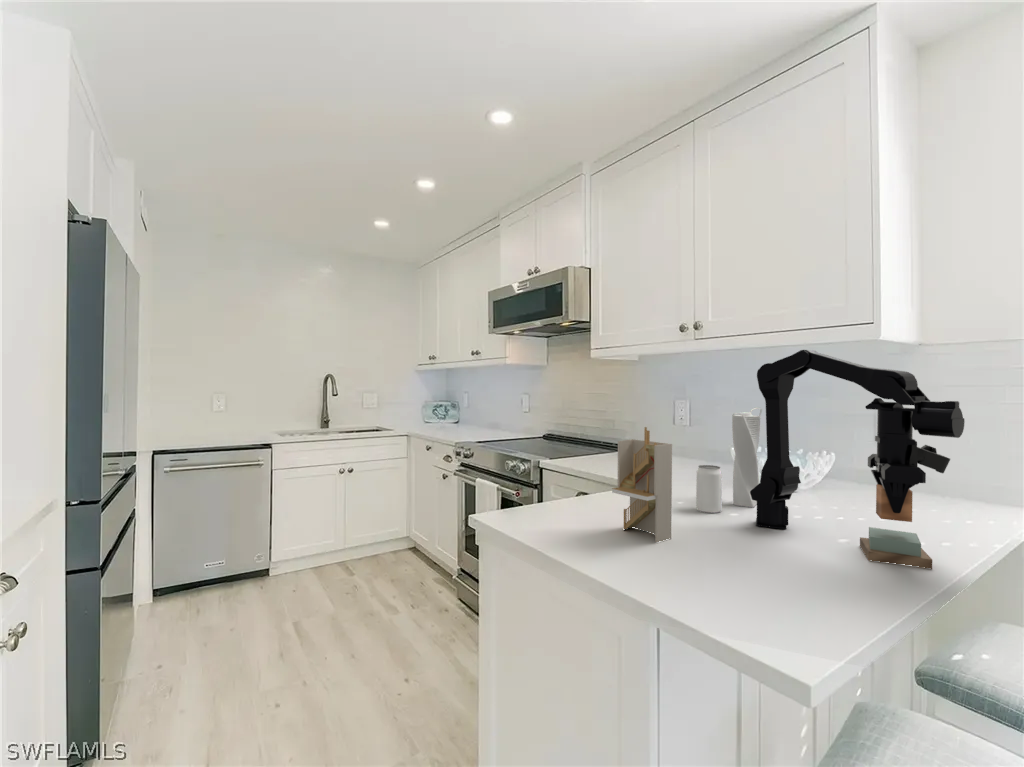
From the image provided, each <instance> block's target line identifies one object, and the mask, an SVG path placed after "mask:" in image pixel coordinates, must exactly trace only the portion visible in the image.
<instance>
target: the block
mask: <svg viewBox="0 0 1024 767" xmlns="http://www.w3.org/2000/svg"><path fill="white" fill-rule="evenodd" d="M875 488H876V491H875V492H876V493H875V494H876V495H875V499H876V500H875V514H876V515H877V516H878V517H879V518H880V519H881V520H888V521H899V522H908V523H909V522H910V523H912V522H913V491H912V490H911V488H910V489H909V490H908V492H907V495H906V498H905V501H904V504H903V506H902V509H901V512H900V513H894V512H893V511H892V508H891V506H890V503H889V501H888V498H887V496H886V493H885V491H884V488H883V486H882V485H878V484H877V483H876V487H875Z"/></svg>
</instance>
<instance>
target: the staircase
mask: <svg viewBox="0 0 1024 767" xmlns="http://www.w3.org/2000/svg"><path fill="white" fill-rule="evenodd" d="M643 429H644V433H643V434H644V435H643V436H644V440H643V439H642V440H641V439H635V438H633V439H630V438H629V439H621V440H617V487H613V488H611V489H612V490H611V492H612V494H613V493H614V494H618V495H622V496H627V497H629V506H628V507H627V508H623V528H624V529H626V530H628V529H627V528H630V529H633V528H632V527H635V528H638V529H641V530H644V531H648V532H651V533H654V534H655V535H654V536H655V537H654V538H655V542H659V541H663V540H666V539H669V538H671V539H672V512H673V511H672V510H673V509H672V508H673V507H672V501H673V500H672V495H673V492H672V489H673V481H672V480H673V479H672V478H673V465H672V464H673V444H672V443H669V442H668V443H666V442H660V441H650V440H651V439H650V438H651V437H650V436H651V435H650V430H648V426H645V427H644V428H643ZM669 540H670V539H669ZM666 541H667V540H666ZM655 542H654V543H655ZM663 542H664V541H663Z"/></svg>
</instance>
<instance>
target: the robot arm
mask: <svg viewBox="0 0 1024 767" xmlns="http://www.w3.org/2000/svg"><path fill="white" fill-rule="evenodd" d="M809 370H812V371H813V370H814V371H816V372H820V373H822V374H826V375H828V376H829V375H830V376H832V377H836V378H838V379H841V380H844V381H848V382H851V383H854V384H856V385H858V386H860V387H862V388H863V389H864V390H865V391H868V392H869V393H870V394H873V395H875V396H877V397H875V398H874V399H873V400H872V401H871V402H870V403H868V404H867V405H865V409H866V410H875V411H877V417H876V418H877V420H876V421H877V422H876V423H877V425H876V426H877V428H876V429H877V430H876V431H877V433H876V434H877V435H874V441H875V442H876V453H872V454H870V455H869V456H867V467H868V468H870V469H871V468H872V469H871V470H870V472H871V474H872V476H873V479H874V480H875V482H876V484H878V485H882V486H883V488H884V491H885V493H886V496H887V498H888V501H889V503H890V506H891V508H892V511H893V512H894V513H900V512H901V509H902V506H903V504H904V501H905V498H906V495H907V492H908V490H909V489H910V490H911V488H913V487H915V486H917V485H919V484H926V481H927V480H926V478H927V476H926V475H927V474H926V472H925V471H924V470H923V469H922V468H920V467H919V466H918V465H921V466H924V467H926V468H929V469H932V470H935V472H937V473H940V474H944V473H945V471H946V469H947V467H948V465H949V463H950V461H951V458H949V457H947V456H945V455H942V454H939V453H938V452H937V449H936V447H934V446H932V445H931V446H930V445H928V444H924V445H922V446H921V447H919V446H918V442H917V441H916V439H914V438H913V432H914V431H917V432H918V434H919V435H921V436H932V437H942V438H943V437H944V438H957V439H959V438H960V437H961V436H962V435H963V433H964V430H965V422H966V421H965V418H964V416H963V411H962V409H961V408H960V401H958V400H948V401H947V400H946V401H935V400H934V401H931V399H929V397H928V396H927V395H926V394H925V393H924V392H923V391H922V390H921V389H920V387H919V386H918V380H917V378H916V376H915V375H914V374H912V373H911V372H908V371H905V370H896V369H889V368H888V369H887V368H880V367H879V368H878V367H870V366H866V365H862V364H859V363H856V362H852V361H848V360H845V359H843V358H842V359H841V358H837V357H834V356H831V355H827V354H824V353H820V352H818V351H816V350H813V349H812V350H811V349H801V350H799V351H797V352H794V353H793V354H792V355H788V356H786V357H783V358H780V359H778V360H775V361H773V362H769V363H768V362H767V363H764V364H763V365H761V366H760V367H759V368H758V369H757V372H756V380H757V384H758V389H759V391H760V394H762V396H763V399H764V401H765V402H764V403H765V429H766V430H765V431H766V434H765V435H766V460H765V462H764V464H763V467H762V469H761V472H760V473H761V474H760V479H759V484H758V485H757V486H756V487H755V488H753V489H752V490H751V491H750V494H751V497H752V500H755V501H757V505H756V518H755V526H756V527H763V528H771V529H780V530H786V529H787V527H788V525H789V506H787V505H786V501H789V500H790V499H791V498H792V495H793V494H794V493H795V492H796V491H797V490H798V488H799V484H802V482H801V480H800V472H801V469H800V466H794V464H793V463H792V461H791V458H790V439H789V438H790V436H789V435H790V434H789V433H790V432H789V407H788V406H789V405H788V402H789V398H790V396H791V393H792V392H793V389H794V385H795V384H794V383H795V380H796V378H799V377H800V376H802V375H804V374H805V373H807V372H808V371H809ZM884 400H893V401H884ZM904 406H914V407H904ZM913 430H914V431H913ZM874 467H875V469H873V468H874Z"/></svg>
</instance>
